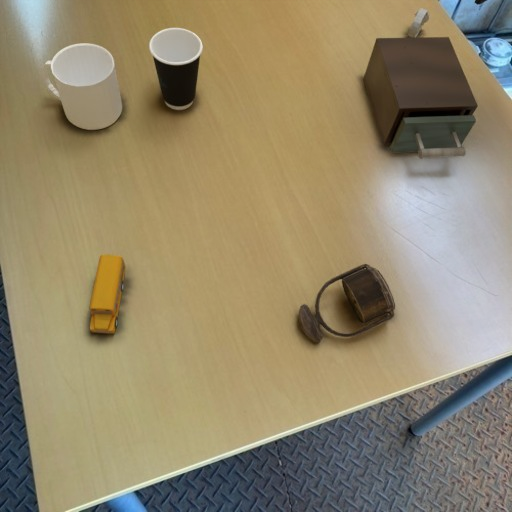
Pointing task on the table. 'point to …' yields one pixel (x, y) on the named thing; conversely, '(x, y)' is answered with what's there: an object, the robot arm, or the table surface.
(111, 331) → the toy bus
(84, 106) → the mug
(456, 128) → the drawer
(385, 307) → the mechanical counter
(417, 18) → the wristwatch
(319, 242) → the table surface
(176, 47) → the dixie cup
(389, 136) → the cabinet
